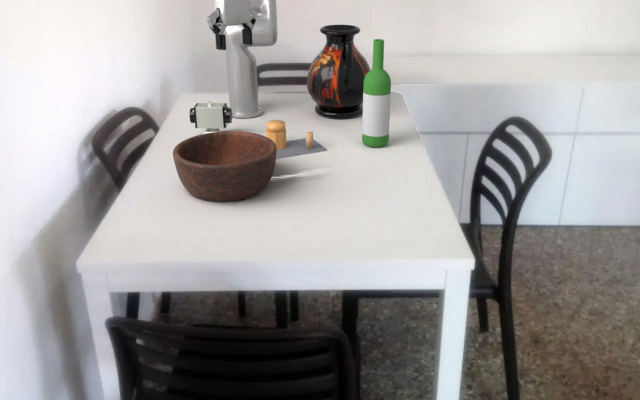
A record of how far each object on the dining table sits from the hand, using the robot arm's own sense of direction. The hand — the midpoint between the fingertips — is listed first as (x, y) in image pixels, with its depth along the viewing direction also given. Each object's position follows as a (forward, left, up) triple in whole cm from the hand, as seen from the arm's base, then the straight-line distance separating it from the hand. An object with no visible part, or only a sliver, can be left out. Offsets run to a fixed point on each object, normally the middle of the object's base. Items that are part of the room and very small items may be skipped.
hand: (234, 47), depth 171 cm
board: (+8, +12, -29) cm, 32 cm away
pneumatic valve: (-11, -5, -29) cm, 31 cm away
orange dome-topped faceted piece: (+5, +9, -28) cm, 30 cm away
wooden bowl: (+23, -11, -29) cm, 39 cm away
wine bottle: (+12, +37, -29) cm, 49 cm away
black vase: (-20, +41, -29) cm, 54 cm away
